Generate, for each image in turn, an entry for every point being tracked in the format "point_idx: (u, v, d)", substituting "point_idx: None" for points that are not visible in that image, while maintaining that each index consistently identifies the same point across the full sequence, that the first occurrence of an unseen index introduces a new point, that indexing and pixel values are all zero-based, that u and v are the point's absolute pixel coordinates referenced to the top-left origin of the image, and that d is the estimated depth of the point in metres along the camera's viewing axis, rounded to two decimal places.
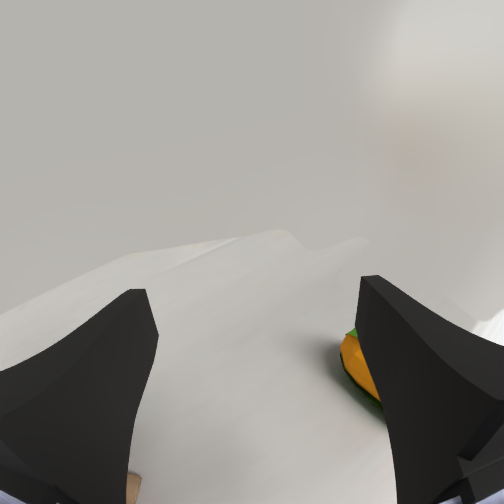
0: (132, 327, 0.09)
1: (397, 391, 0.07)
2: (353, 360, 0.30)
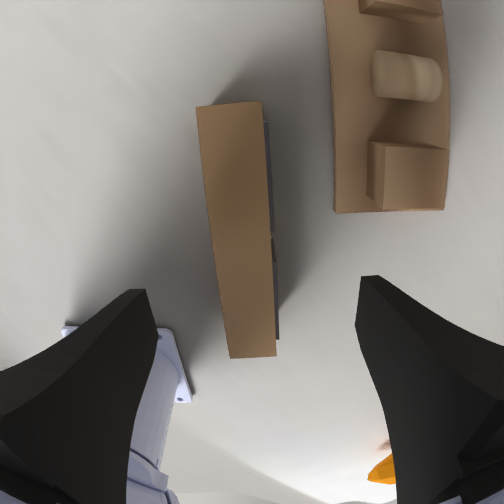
0: (132, 327, 0.09)
1: (397, 391, 0.07)
2: None
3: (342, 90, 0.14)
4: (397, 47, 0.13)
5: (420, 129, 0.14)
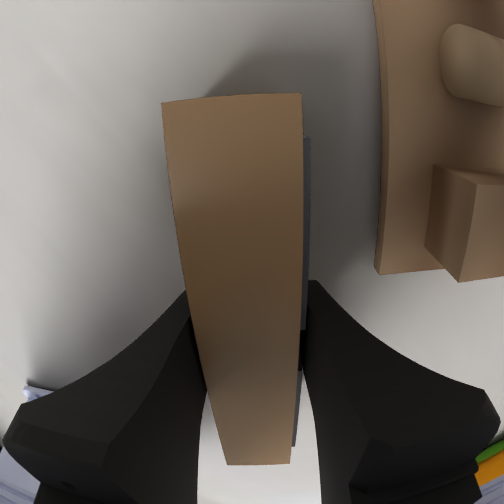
0: None
1: (319, 403, 0.07)
2: None
3: (400, 82, 0.08)
4: (472, 25, 0.07)
5: (500, 150, 0.08)
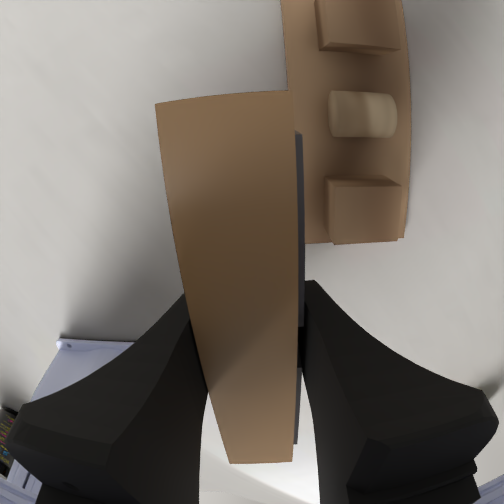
0: None
1: (317, 403, 0.07)
2: None
3: (299, 130, 0.16)
4: (356, 82, 0.14)
5: (378, 163, 0.16)
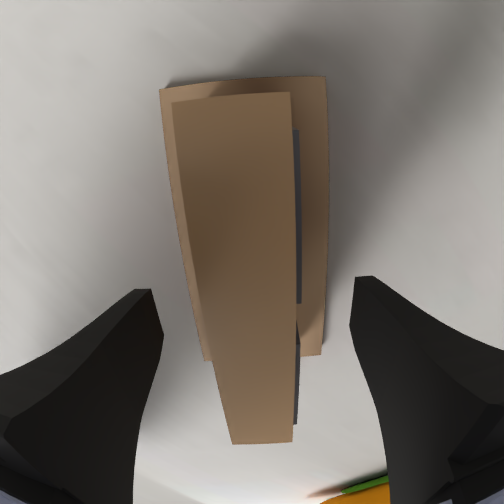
0: (138, 327, 0.09)
1: (390, 392, 0.07)
2: None
3: (192, 265, 0.15)
4: None
5: None
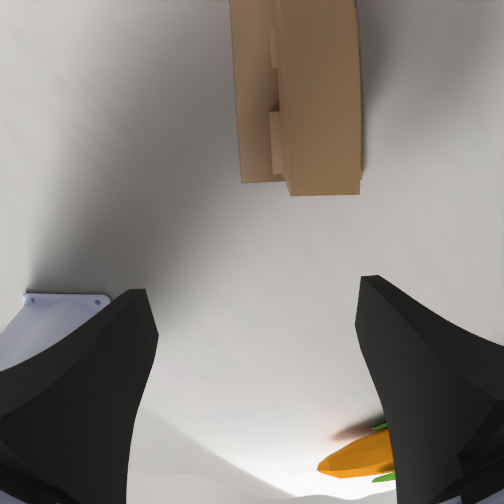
0: (132, 327, 0.09)
1: (397, 391, 0.07)
2: None
3: (241, 67, 0.15)
4: None
5: None
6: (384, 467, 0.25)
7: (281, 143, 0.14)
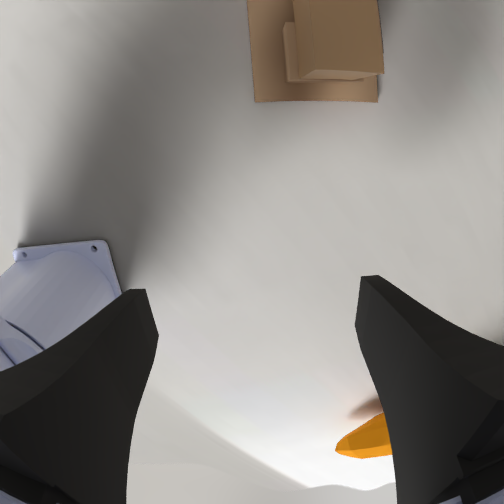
0: (132, 327, 0.09)
1: (397, 391, 0.07)
2: None
3: None
4: None
5: None
6: None
7: (297, 49, 0.12)
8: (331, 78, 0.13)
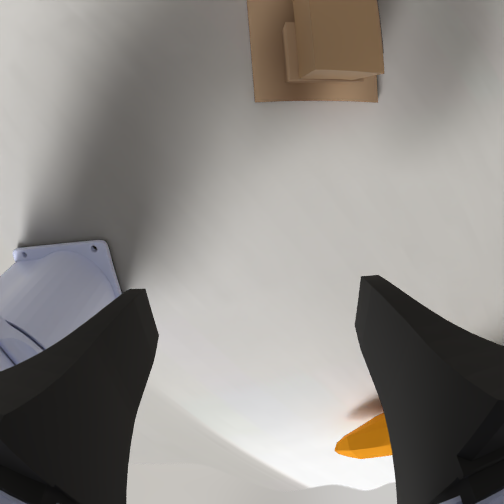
0: (132, 327, 0.09)
1: (397, 391, 0.07)
2: None
3: None
4: None
5: None
6: None
7: (297, 49, 0.12)
8: (331, 78, 0.13)
